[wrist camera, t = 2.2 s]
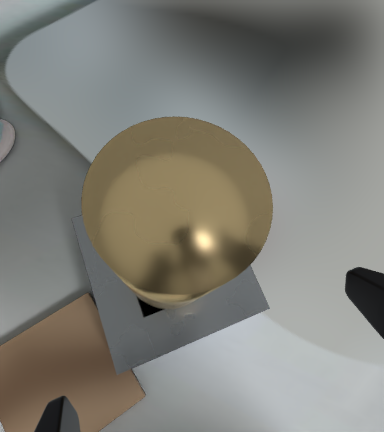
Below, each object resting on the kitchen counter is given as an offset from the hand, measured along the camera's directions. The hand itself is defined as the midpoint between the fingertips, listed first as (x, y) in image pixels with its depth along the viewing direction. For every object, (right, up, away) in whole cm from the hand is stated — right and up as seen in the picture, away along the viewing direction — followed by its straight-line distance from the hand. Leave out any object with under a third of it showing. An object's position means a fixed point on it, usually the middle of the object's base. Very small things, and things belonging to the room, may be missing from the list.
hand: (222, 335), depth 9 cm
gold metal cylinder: (-3, 0, +12) cm, 12 cm away
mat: (-8, -6, +9) cm, 14 cm away
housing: (-3, 0, +12) cm, 12 cm away
